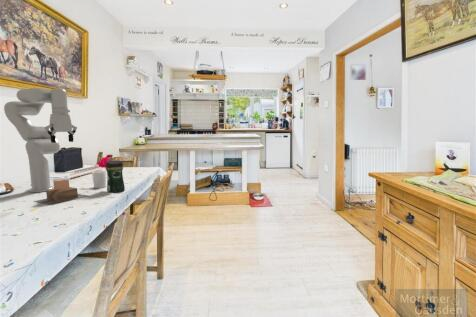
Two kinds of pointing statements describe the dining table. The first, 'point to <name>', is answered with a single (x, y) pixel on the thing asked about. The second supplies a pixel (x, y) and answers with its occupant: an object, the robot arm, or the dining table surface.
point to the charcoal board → (49, 202)
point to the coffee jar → (114, 176)
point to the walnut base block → (61, 194)
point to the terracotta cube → (61, 184)
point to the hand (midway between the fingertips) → (62, 142)
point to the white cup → (99, 179)
